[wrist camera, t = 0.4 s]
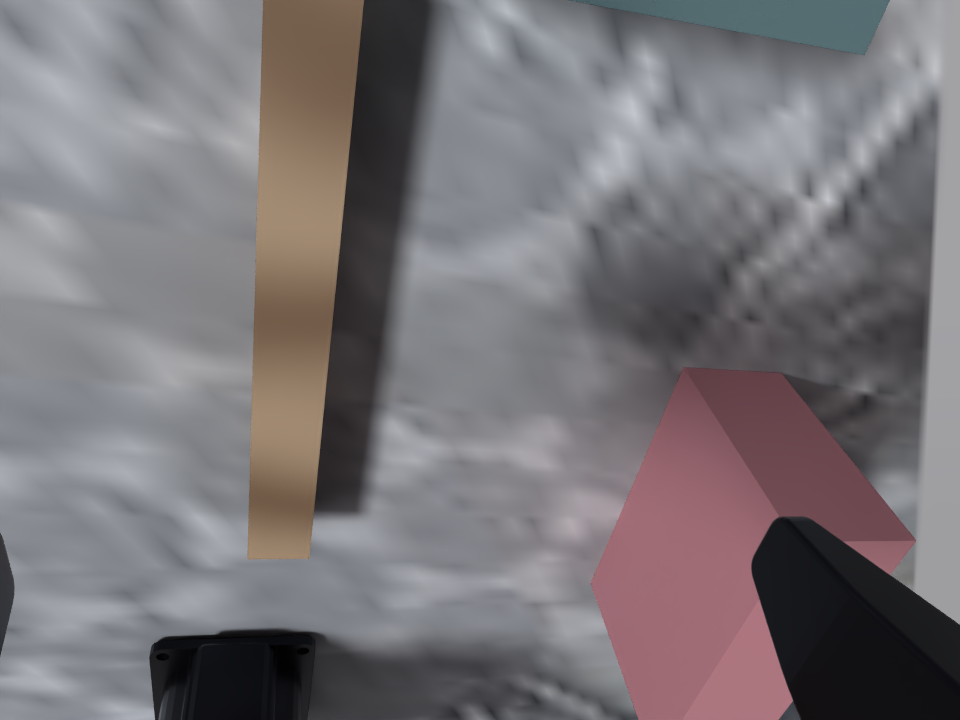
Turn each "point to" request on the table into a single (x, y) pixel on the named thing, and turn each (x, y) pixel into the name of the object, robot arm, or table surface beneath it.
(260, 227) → the rail
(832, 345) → the table surface
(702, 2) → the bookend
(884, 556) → the boxed book
